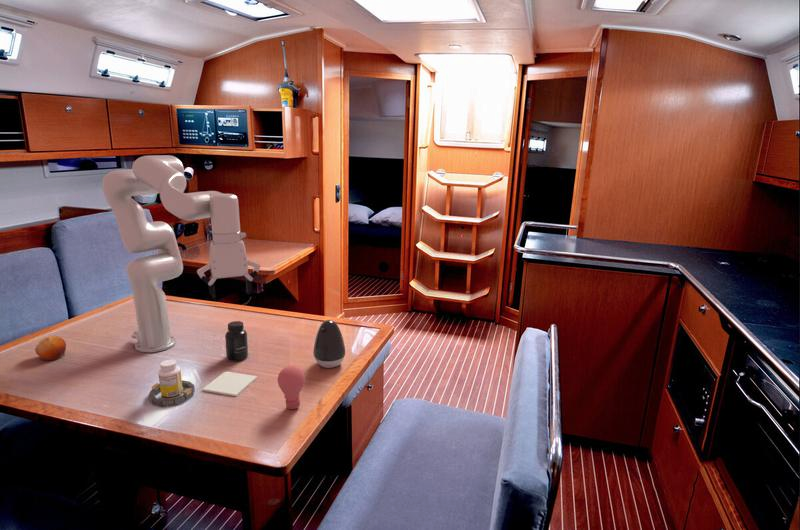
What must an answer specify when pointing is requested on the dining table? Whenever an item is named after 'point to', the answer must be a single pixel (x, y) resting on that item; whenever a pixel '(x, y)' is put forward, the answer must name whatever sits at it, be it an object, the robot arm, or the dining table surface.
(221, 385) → the coaster
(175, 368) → the supplement bottle
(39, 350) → the fruit
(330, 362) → the pump dispenser
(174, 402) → the collar
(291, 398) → the light bulb
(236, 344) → the supplement bottle
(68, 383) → the dining table surface
